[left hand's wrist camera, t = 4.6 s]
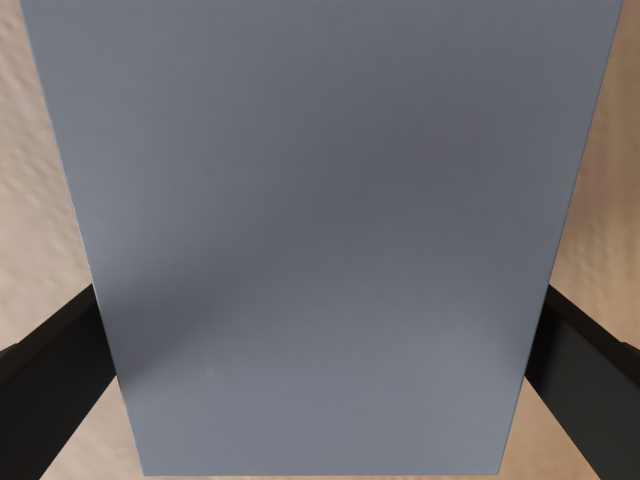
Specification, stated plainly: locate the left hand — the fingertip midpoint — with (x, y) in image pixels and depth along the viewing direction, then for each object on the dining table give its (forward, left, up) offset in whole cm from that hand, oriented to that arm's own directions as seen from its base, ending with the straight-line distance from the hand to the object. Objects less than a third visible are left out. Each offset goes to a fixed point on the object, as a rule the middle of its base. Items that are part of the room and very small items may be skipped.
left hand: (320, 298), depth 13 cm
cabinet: (+5, -1, -5) cm, 7 cm away
